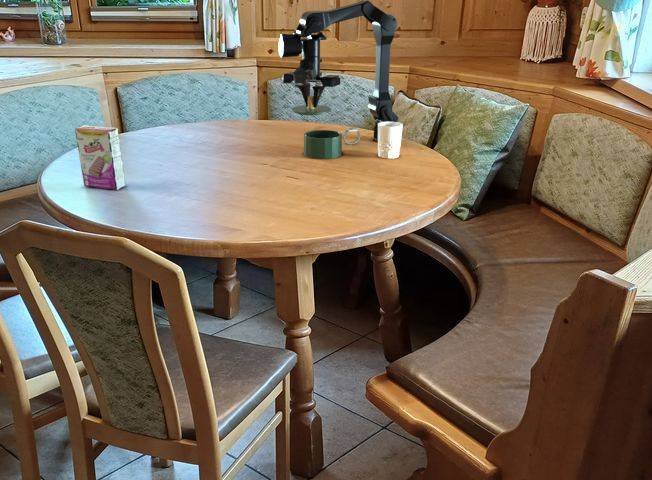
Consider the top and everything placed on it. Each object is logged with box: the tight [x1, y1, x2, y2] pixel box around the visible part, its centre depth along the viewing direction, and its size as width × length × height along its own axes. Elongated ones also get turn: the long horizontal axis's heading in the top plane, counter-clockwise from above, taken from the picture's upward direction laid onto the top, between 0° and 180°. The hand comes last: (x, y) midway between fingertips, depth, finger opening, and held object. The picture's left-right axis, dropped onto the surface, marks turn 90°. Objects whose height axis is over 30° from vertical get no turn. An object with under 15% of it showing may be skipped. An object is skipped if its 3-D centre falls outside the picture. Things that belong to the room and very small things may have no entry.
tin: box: [303, 129, 343, 160], centre depth 236 cm, size 12×12×6 cm
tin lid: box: [291, 94, 332, 116], centre depth 239 cm, size 13×13×5 cm
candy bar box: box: [74, 124, 126, 191], centre depth 204 cm, size 11×5×16 cm, turn 71°
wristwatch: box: [342, 127, 361, 145], centre depth 249 cm, size 6×3×5 cm, turn 108°
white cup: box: [377, 121, 404, 159], centre depth 233 cm, size 8×8×10 cm
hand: (311, 107), depth 239 cm, fingers closed on tin lid, 2 cm apart
